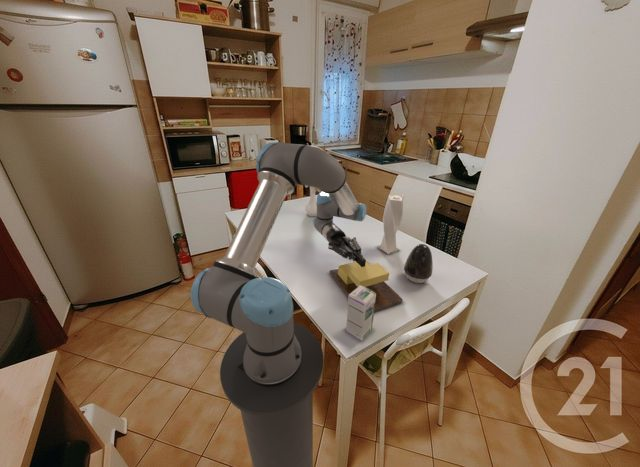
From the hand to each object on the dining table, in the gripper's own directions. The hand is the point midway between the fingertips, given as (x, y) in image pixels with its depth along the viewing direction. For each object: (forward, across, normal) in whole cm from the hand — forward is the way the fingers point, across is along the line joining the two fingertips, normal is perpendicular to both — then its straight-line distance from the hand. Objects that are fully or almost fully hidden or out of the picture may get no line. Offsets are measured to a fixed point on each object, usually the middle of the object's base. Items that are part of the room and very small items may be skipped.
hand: (363, 263), depth 94 cm
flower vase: (-68, -9, -10) cm, 69 cm away
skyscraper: (-17, -25, -10) cm, 32 cm away
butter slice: (+4, 0, -4) cm, 6 cm away
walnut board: (+1, 0, -10) cm, 10 cm away
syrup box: (+18, +12, -10) cm, 24 cm away
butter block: (-4, 0, -8) cm, 9 cm away
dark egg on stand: (+5, -22, -10) cm, 25 cm away
